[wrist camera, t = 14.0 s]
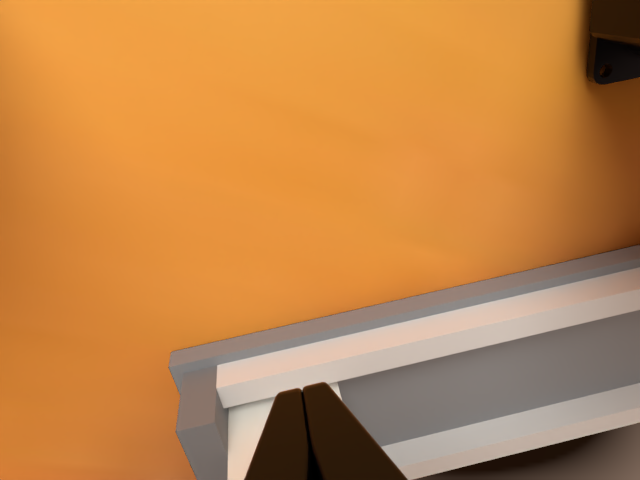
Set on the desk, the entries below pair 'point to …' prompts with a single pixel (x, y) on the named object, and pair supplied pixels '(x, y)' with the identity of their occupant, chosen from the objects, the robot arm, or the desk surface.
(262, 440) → the robot arm
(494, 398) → the rail board
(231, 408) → the block
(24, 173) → the desk surface
